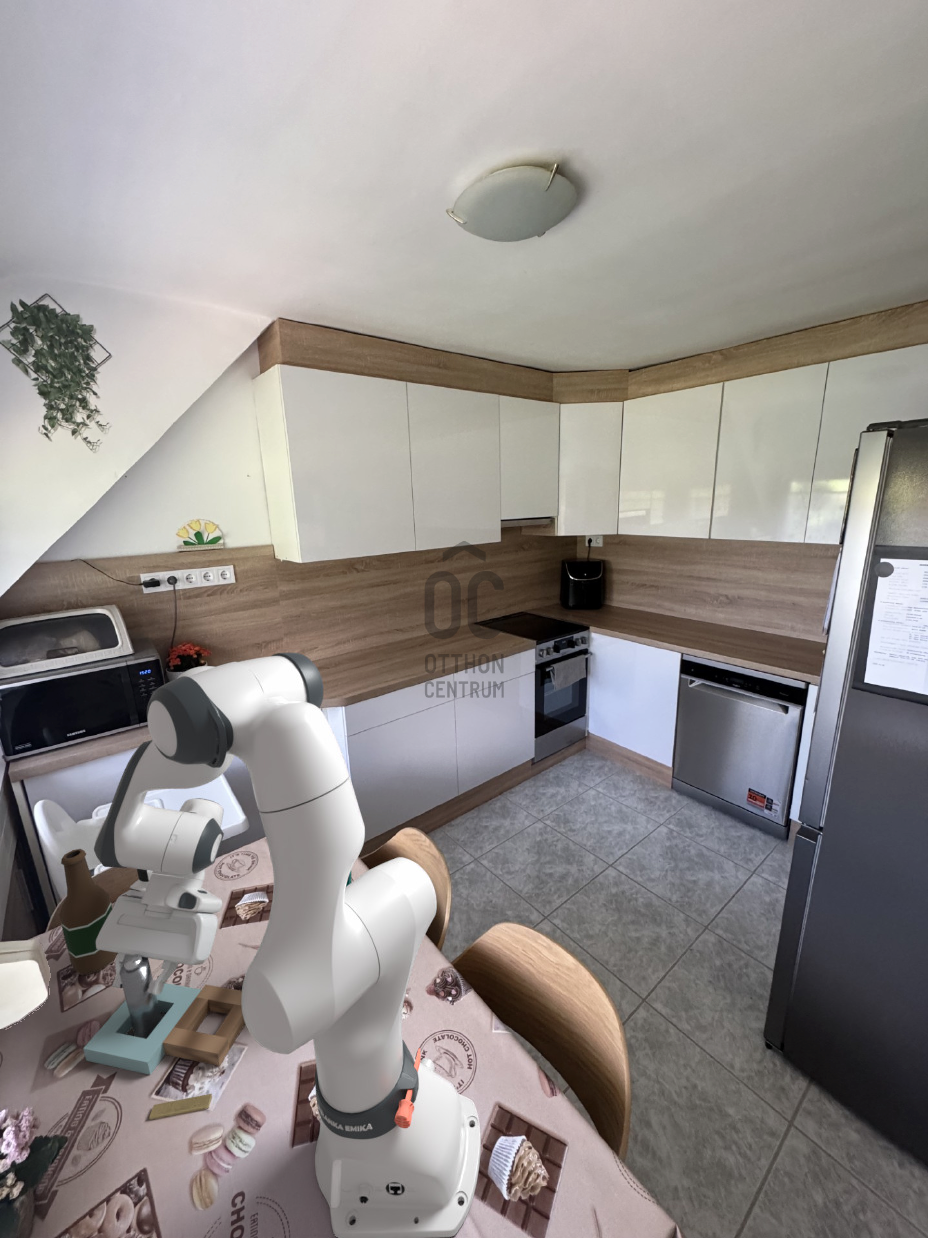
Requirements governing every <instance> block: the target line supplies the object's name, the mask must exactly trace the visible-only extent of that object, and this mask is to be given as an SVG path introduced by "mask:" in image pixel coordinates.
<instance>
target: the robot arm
mask: <svg viewBox="0 0 928 1238" xmlns="http://www.w3.org/2000/svg"><path fill="white" fill-rule="evenodd" d="M323 699H324V683H323V678H322V675H321V673H320V670H319V668H318V667H317V666H316V664H315V663H314V662H313V661H312V660H311V659H310V658H309V657H308V656H306V655H304V654H302V653H299V652H279V653H278V652H277V653H274V654H272V655H270V656H263V657H258V658H257V657H256V658H251V659H245V660H241V661H231V662H228V663H224V664H220V665H217V666H212V665H211V666H210V665H209V666H208V665H202V666H197V667H193V668H190V669H187V670H186V671H184V672H182V673H180V675H179V676H178V677H176V678H174V679H173V680H171V681H169V682H167V683H164V684H163V685H161V686H159V687H158V688H156V689H155V690H154V691H153V693H152V694H151V696H150V698H149V701H148V703H147V707H146V719H147V728H148V732H149V735H150V737H151V739H150V740H147V741H143V742H142V743H141V744H140V745H139V746H138V747H137V749H135V751H134V752H133V754H132V755H131V757H130V759H129V761H128V762H127V764H126V766H125V769H124V771H123V773H122V775H121V777H120V781H119V782H118V785H117V788H116V790H115V793H114V796H113V798H112V802H111V804H110V807H109V810H108V812H107V815H106V818H105V820H104V821H103V823H102V824H101V826H100V828H99V829H98V832H97V835H96V838H95V841H94V847H93V852H94V854H95V856H96V858H97V860H98V861H99V862H100V864H101V866H103V867H104V868H117V869H118V868H119V869H127V868H129V869H136V870H137V869H143V870H150V871H153V872H152V873H154V874H151V877H150V879H149V882H148V884H147V887H146V889H145V892H144V891H135V890H130V889H129V890H127V891H126V892H123V893H122V894H120V895H119V896H118V897H117V899H116V900H115V903H114V905H113V906H112V911H111V912H110V914H109V916H108V917H107V919H106V921H105V923H104V925H103V927H102V928H101V930H100V932H99V935H98V937H97V939H96V948H97V949H98V950H104V951H110V952H116V953H117V955H116V958H115V960H114V961H115V963H114V964H115V965H114V966H115V977H114V980H113V982H112V986H111V987H113V988H117V989H123V986H122V982H121V978H120V970H121V968H122V966H123V965H124V962H125V961H126V960H127V959H128V958H129V957H130V956H132V955H135V954H140V955H141V957H145V958H148V959H151V960H158V961H163V962H162V964H161V970H162V971H161V973H159V975H158V977H157V978H156V979H153V980H151V982H150V984H149V988H148V990H147V993H148V994H153V995H158V994H160V993H161V992H162V990H163V987H164V984H165V983H166V982H167V981H168V979H169V978H170V977H171V976H172V975H173V974H174V973H175V971H176V970H177V968H178V966H179V964H181V965H188V966H199V965H203V963H205V962H206V961H207V960H208V959H209V957H210V955H211V952H212V949H213V945H214V943H215V942H214V941H215V938H216V935H217V929H218V925H219V923H218V922H219V921H218V917H217V915H216V914H217V913H219V912H220V911H221V908H222V905H223V900H222V899H221V898H220V897H218V896H217V895H215V894H213V893H211V892H210V891H208V890H207V889H205V888H204V887H203V885H204V881H205V878H206V869H208V867H210V866H212V865H213V864H215V863H216V859H217V855H218V853H219V851H220V847H221V844H222V841H223V839H224V835H225V833H224V832H223V830H222V823H223V818H224V812H225V811H224V808H223V806H222V805H221V804H219V803H217V802H215V801H214V800H211V799H206V798H201V797H199V798H190V799H187V800H185V801H184V803H183V804H182V805H181V807H180V808H179V810H177V809H176V810H175V809H171V808H164V807H156V806H153V805H149V804H147V803H145V802H144V801H145V799H146V796H147V794H148V792H153V791H159V790H188V789H195V788H198V787H202V786H204V785H207V784H209V783H211V782H213V781H215V780H217V778H220V777H221V776H222V775H223V774H224V773H225V772H226V771H227V770H228V769H229V768H230V767H231V764H232V763H233V760H234V759H235V757H236V758H238V759H239V760H241V762H243V764H244V765H245V767H246V768H247V770H248V773H249V776H250V780H251V785H252V790H253V795H254V799H255V803H256V807H257V810H258V813H259V816H260V820H261V823H262V827H263V831H264V835H265V838H266V842H267V846H268V851H269V852H268V853H269V857H270V860H271V864H272V865H271V867H272V873H273V875H272V876H273V893H272V901H271V907H270V913H269V916H268V922H267V924H266V928H265V931H264V934H263V937H262V940H261V942H260V944H259V947H258V949H257V951H256V953H255V955H254V957H253V959H252V960H251V963H250V964H249V966H248V968H247V970H246V972H245V975H244V978H243V982H242V989H241V991H242V995H241V1005H242V1013H243V1017H244V1021H245V1026H246V1029H247V1030H248V1032H249V1034H250V1035H251V1036H252V1038H253V1039H254V1041H255V1042H256V1043H257V1044H259V1045H260V1046H261V1047H263V1048H265V1049H266V1050H268V1051H269V1052H272V1053H275V1054H281V1055H289V1054H292V1053H293V1052H295V1051H296V1050H298V1049H300V1048H301V1047H303V1046H304V1045H306V1044H308V1043H309V1042H311V1041H313V1049H314V1056H315V1065H316V1068H315V1076H314V1086H315V1097H316V1107H317V1110H318V1114H319V1116H320V1126H319V1135H318V1137H317V1142H316V1144H315V1152H314V1153H315V1155H314V1167H315V1168H314V1169H315V1175H316V1180H317V1182H318V1183H317V1184H318V1186H319V1189H320V1191H321V1193H322V1194H323V1196H324V1198H325V1200H326V1202H327V1204H328V1207H329V1214H330V1222H331V1224H330V1225H331V1229H332V1233H333V1235H334V1234H335V1235H334V1237H335V1236H336V1237H338V1238H450V1237H451V1238H452V1237H453V1236H454V1237H455V1235H457V1234H458V1231H459V1230H460V1229H461V1227H462V1226H463V1224H464V1222H465V1220H466V1218H467V1217H468V1214H469V1212H470V1209H471V1206H472V1203H473V1199H474V1195H475V1191H476V1187H477V1182H478V1176H479V1171H480V1161H481V1151H482V1150H481V1148H482V1147H481V1144H482V1143H481V1142H482V1135H481V1132H482V1131H481V1124H480V1118H479V1113H478V1111H477V1107H476V1104H475V1103H474V1100H472V1099H470V1098H469V1097H467V1096H465V1095H462V1094H460V1093H458V1091H457V1089H456V1087H455V1085H453V1083H452V1082H450V1081H449V1080H447V1079H446V1078H444V1077H443V1076H441V1075H439V1074H438V1073H437V1072H435V1070H436V1069H435V1068H436V1066H435V1064H434V1062H433V1061H432V1059H429V1058H427V1057H425V1058H424V1057H423V1058H422V1059H421V1054H422V1053H421V1048H418V1050H417V1054H416V1057H415V1058H414V1056H413V1055H412V1053H411V1052H410V1049H409V1048H408V1046H407V1044H406V1043H405V1041H404V1039H403V1007H404V1003H405V997H406V992H407V990H408V989H407V988H408V985H409V982H410V978H411V975H412V971H413V967H414V964H415V961H416V958H417V955H418V953H419V950H420V946H421V944H422V942H423V939H424V937H425V936H426V933H427V931H428V929H429V927H430V926H431V923H432V922H433V920H434V919H435V916H436V914H437V903H438V902H437V893H436V890H435V887H434V884H433V881H432V879H431V878H430V876H429V874H428V873H427V872H426V871H425V869H424V868H423V867H421V866H420V864H418V863H417V862H415V861H413V860H411V859H409V858H406V857H402V856H401V857H400V856H398V857H396V858H394V859H393V858H392V859H390V860H388V861H385V862H383V863H381V864H379V865H377V866H375V867H373V868H371V869H369V870H367V871H366V872H364V873H363V874H361V875H360V876H359V877H357V878H356V879H355V880H353V881H351V883H350V884H349V885H348V886H346V884H347V880H348V877H349V874H350V871H351V872H352V869H353V867H354V865H355V862H356V861H357V859H358V857H359V855H360V853H361V851H362V849H363V846H364V843H365V838H366V837H365V836H366V828H365V823H364V819H363V816H362V813H361V810H360V807H359V802H358V800H357V795H356V792H355V789H354V786H353V783H352V780H351V774H350V772H349V769H348V766H347V763H346V760H345V757H344V754H343V751H342V750H341V749H342V748H341V747H340V745H339V742H338V740H337V738H336V735H335V734H334V732H333V729H332V727H331V725H330V723H329V721H328V720H327V717H326V715H325V714H324V713H323V711H322V710H321V709H320V708H321V707H322V703H323V701H324V700H323ZM159 874H160V875H159ZM166 875H168V876H166ZM174 876H175V877H174ZM181 877H182V878H181ZM133 897H136V898H133ZM471 1125H474V1126H473V1127H471ZM461 1201H462V1202H463V1204H462V1205H460V1204H459V1202H461ZM353 1220H354V1221H355V1223H353V1224H352V1225H351V1224H350V1223H351V1222H352V1221H353ZM336 1237H335V1238H336Z"/></svg>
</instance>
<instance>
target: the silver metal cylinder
mask: <svg viewBox="0 0 928 1238" xmlns="http://www.w3.org/2000/svg"><path fill="white" fill-rule="evenodd" d="M120 978H121V982H122V986H123V988H122V990H123V994H124V998H125V1000H126V1003H127V1007H128V1011H129V1015H130V1019H131V1024H132V1028H131V1029H132V1032H133V1035H134V1036H135V1037H139V1038H144V1039H147V1038H148V1037H149V1035H150V1034H151V1033H152V1031H153V1030H154V1029H155V1028H156V1026H157V1025H158V1024H159V1022H160V1021H161V1020H162V1019H163V1018H162V1015H161V1014H162V1013H161V1011H160V1010H159V1005H158V1001H157V996H156V995H153V994H148V993H147V990H148V988H149V984H150V982H151V980H154V978H153V974H152V970H151V965H150V961H149V958H145V957H141V955H140V954H135V955H132V956H130V957H129V958H128V959H127V960H126V961H125V962H124V965H123V966H122V968H121V970H120Z"/></svg>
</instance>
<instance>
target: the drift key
mask: <svg viewBox="0 0 928 1238" xmlns="http://www.w3.org/2000/svg"><path fill="white" fill-rule="evenodd" d="M212 1099H213V1095H212V1093H208V1094H203V1095H198V1096H197V1095H196V1096H192V1097H188V1098H182V1099H176V1100H171V1101H167V1102H162V1103H155V1104H153V1106H152V1109H151V1112H150V1114H149V1120H150V1121H151V1120H158V1119H161V1118H167V1117H171V1116H176V1115H182V1114H187V1113H192V1112H197V1111H202V1110H207V1109H209V1108H210V1105H211V1101H212Z"/></svg>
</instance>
